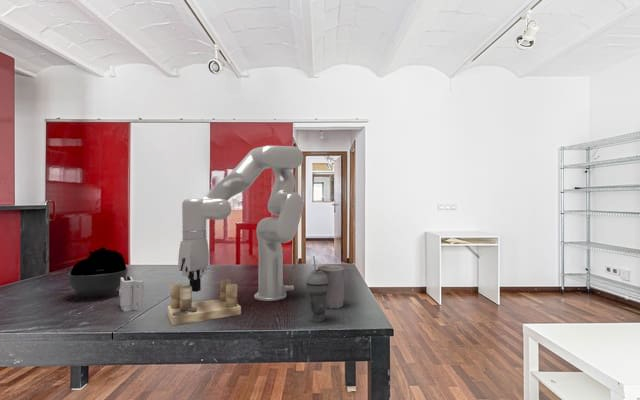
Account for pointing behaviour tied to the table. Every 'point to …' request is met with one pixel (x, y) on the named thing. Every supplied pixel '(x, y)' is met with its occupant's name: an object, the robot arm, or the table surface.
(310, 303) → the beverage cup
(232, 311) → the stool seat
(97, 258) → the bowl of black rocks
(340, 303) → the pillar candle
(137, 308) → the hinge
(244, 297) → the table surface
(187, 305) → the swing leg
